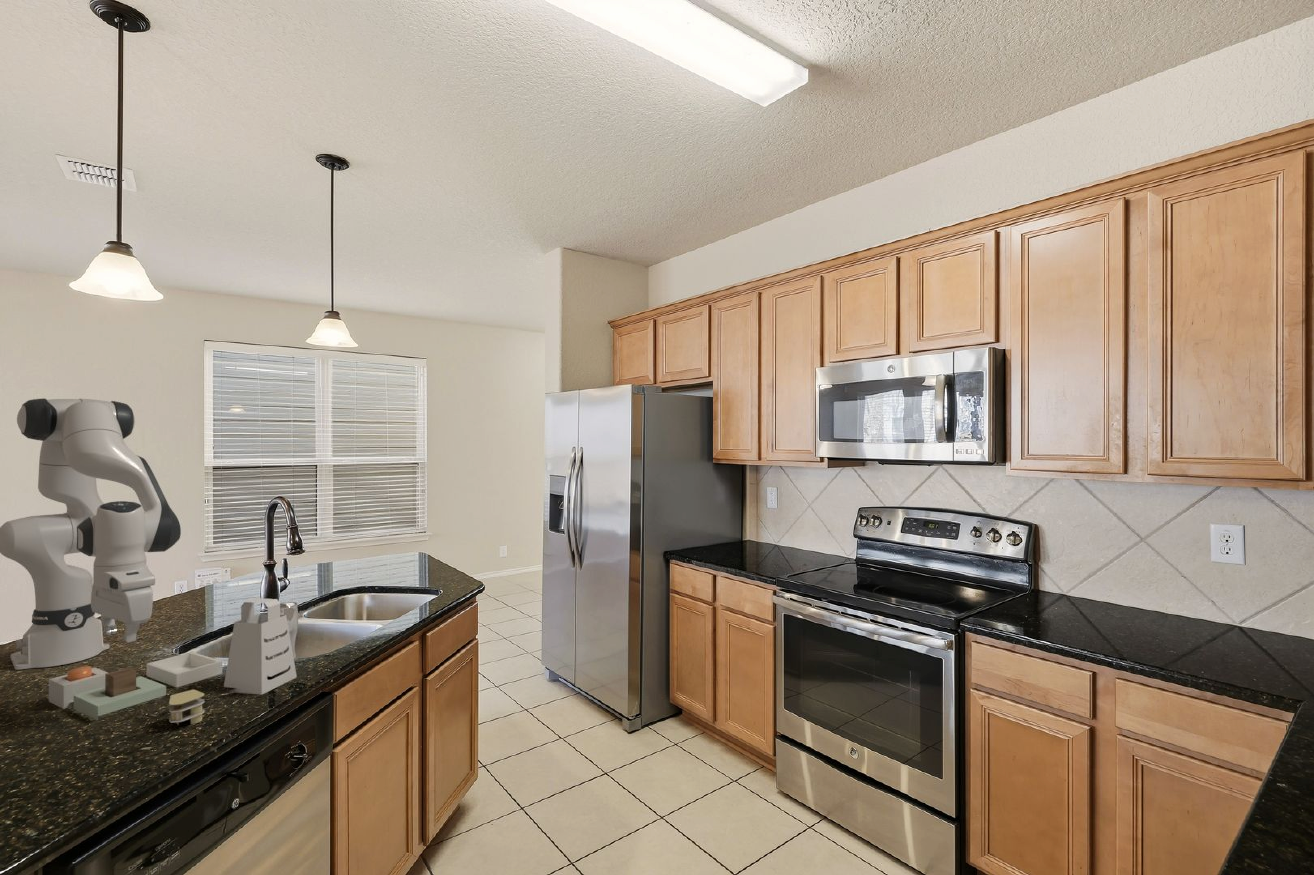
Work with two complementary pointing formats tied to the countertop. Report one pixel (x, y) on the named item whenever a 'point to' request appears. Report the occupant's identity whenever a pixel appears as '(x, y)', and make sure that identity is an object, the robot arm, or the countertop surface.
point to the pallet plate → (117, 698)
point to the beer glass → (290, 622)
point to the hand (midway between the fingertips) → (119, 637)
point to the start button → (79, 673)
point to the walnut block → (120, 682)
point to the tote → (184, 669)
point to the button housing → (73, 687)
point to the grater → (259, 650)
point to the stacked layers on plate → (186, 707)
